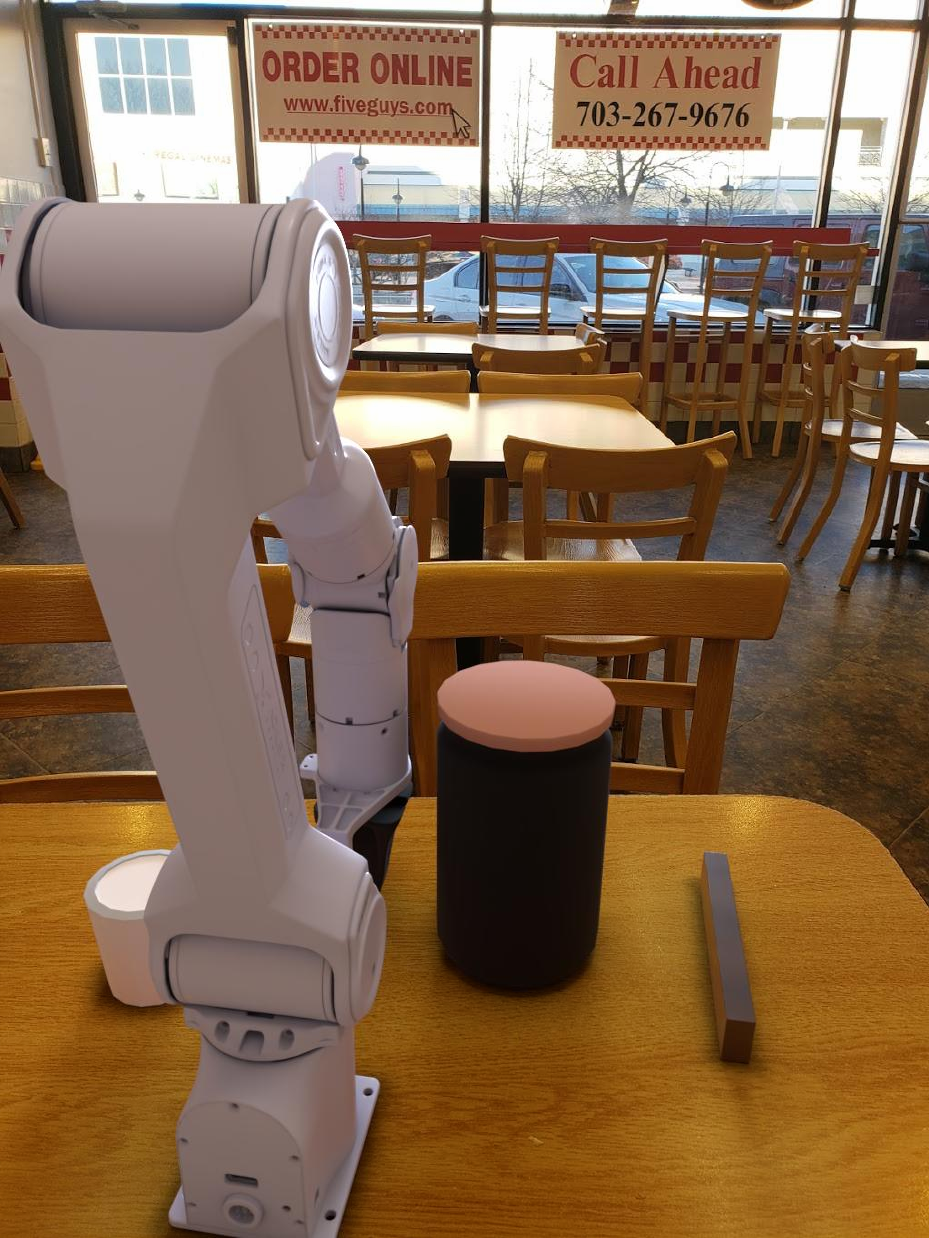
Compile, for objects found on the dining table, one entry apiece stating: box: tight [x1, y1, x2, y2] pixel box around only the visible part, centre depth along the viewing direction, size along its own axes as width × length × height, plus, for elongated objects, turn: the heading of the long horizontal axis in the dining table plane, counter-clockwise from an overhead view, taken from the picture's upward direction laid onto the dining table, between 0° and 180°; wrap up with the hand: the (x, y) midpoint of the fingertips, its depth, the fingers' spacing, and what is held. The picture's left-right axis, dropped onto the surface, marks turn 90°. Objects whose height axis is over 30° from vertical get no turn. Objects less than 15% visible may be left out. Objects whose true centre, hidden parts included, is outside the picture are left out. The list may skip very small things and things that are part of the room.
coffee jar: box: [436, 660, 617, 991], centre depth 59 cm, size 11×11×18 cm
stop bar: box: [699, 851, 757, 1064], centre depth 60 cm, size 16×2×3 cm, turn 171°
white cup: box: [83, 848, 172, 1008], centre depth 58 cm, size 7×7×7 cm
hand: (366, 886), depth 63 cm, fingers closed
